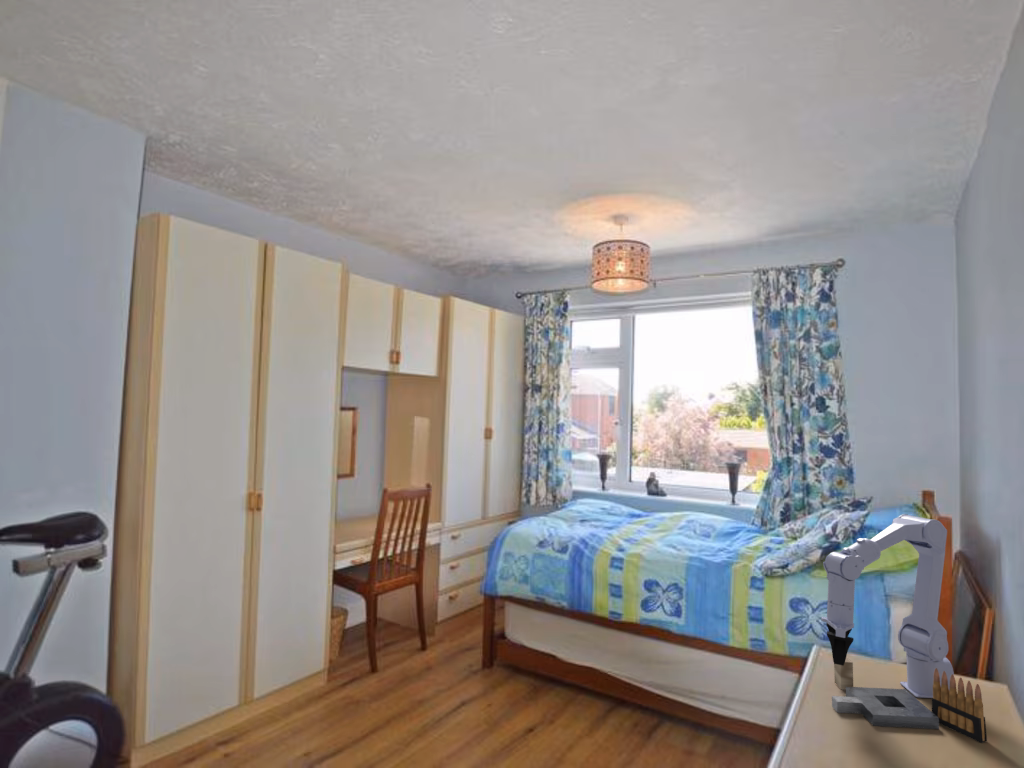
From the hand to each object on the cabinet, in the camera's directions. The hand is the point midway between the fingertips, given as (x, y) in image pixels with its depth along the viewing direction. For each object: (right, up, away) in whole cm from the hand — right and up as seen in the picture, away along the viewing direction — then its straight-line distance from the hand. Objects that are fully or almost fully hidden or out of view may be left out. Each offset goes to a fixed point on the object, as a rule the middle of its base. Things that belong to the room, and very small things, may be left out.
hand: (838, 659), depth 147 cm
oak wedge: (+6, -11, +9) cm, 16 cm away
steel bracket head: (+7, -10, -4) cm, 13 cm away
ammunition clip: (+20, -10, -13) cm, 26 cm away
